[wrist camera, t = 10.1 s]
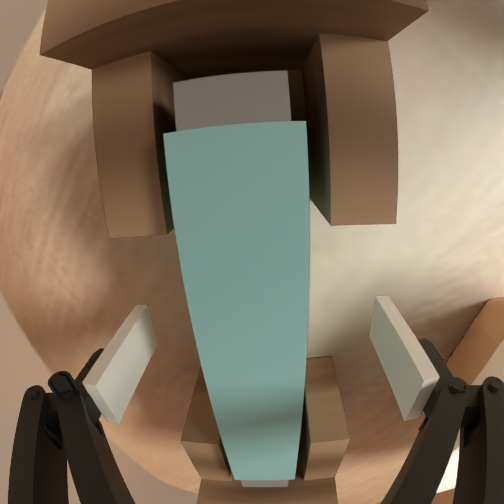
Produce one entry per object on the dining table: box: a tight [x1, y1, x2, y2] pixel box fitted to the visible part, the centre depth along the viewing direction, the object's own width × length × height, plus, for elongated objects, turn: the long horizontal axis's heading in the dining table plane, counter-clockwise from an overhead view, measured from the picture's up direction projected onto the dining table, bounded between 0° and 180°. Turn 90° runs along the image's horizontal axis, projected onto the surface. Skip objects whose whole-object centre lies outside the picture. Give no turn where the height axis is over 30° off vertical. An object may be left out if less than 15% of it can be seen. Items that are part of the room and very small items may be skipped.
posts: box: [40, 0, 429, 504], centre depth 14 cm, size 31×10×11 cm, turn 4°
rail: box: [163, 71, 310, 487], centre depth 14 cm, size 23×4×6 cm, turn 4°
